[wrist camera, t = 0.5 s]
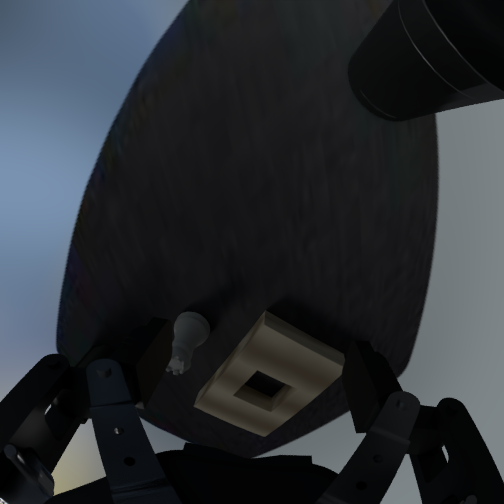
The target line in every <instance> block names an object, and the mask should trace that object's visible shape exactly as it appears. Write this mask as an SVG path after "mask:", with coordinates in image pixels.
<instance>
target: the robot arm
mask: <svg viewBox="0 0 504 504" xmlns="http://www.w3.org/2000/svg"><path fill="white" fill-rule="evenodd" d="M348 76H349V82H350V85H351V88H352V90H353V92H354V94H355V95H356V97H357V99H358V100H359V101H360V102H361V103H362V105H363V106H364V107H366V108H367V109H368V110H369V111H370V112H372V113H373V114H375V115H376V116H378V117H381V118H383V119H385V120H390V121H405V120H409V119H413V118H417V117H421V116H425V115H429V114H433V113H438V112H442V111H445V110H450V109H455V108H459V107H464V106H469V105H474V104H479V103H483V102H489V101H493V100H499V99H504V0H393V1H392V3H391V4H390V5H389V7H388V8H387V9H386V11H385V12H384V13H383V15H382V16H381V17H380V19H379V20H378V22H377V23H376V24H375V26H374V27H373V28H372V30H371V31H370V32H369V34H368V35H367V37H366V38H365V39H364V41H363V42H362V43H361V45H360V46H359V48H358V49H357V50H356V52H355V53H354V55H353V56H352V58H351V60H350V63H349V68H348ZM172 351H173V347H172V328H171V321H170V320H167V319H161V318H156V317H154V318H152V320H151V321H150V322H149V323H148V324H147V326H140V327H138V328H136V329H134V330H133V331H132V332H131V333H130V334H129V335H128V336H127V338H126V339H125V340H124V341H123V343H121V344H120V346H119V347H118V348H117V349H116V350H115V351H114V352H113V354H112V355H111V356H110V357H109V358H108V359H98V360H95V361H93V362H91V363H90V364H89V365H88V367H87V368H81V367H71V366H70V364H69V361H68V359H67V358H66V357H65V356H64V355H61V354H50V355H47V356H45V357H43V358H42V359H41V360H40V361H39V362H38V363H37V364H36V365H35V366H34V367H33V368H32V369H31V370H30V371H29V372H28V373H27V374H26V375H25V376H24V377H23V378H22V379H21V380H20V381H19V382H18V383H17V385H16V386H15V387H14V388H13V389H12V390H11V391H10V392H9V393H8V394H7V395H6V397H5V398H4V399H3V400H2V401H1V402H0V503H1V504H380V502H381V501H382V498H383V497H384V495H385V493H386V492H387V490H388V488H389V486H390V485H391V483H392V480H393V479H394V477H395V475H396V473H397V470H398V468H399V467H400V465H401V463H402V460H403V458H404V456H405V454H409V455H410V459H411V462H412V466H413V469H414V473H415V477H416V480H417V484H418V488H419V492H420V496H421V500H422V504H504V482H503V480H502V478H501V476H500V473H499V471H498V469H497V466H496V464H495V462H494V460H493V458H492V456H491V454H490V452H489V450H488V448H487V446H486V444H485V442H484V440H483V439H482V436H481V435H480V433H479V431H478V429H477V427H476V425H475V423H474V421H473V420H472V418H471V416H470V414H469V413H468V411H467V409H466V408H465V406H464V405H463V403H462V402H460V401H458V400H457V399H454V398H444V399H442V400H441V401H440V402H439V403H438V405H437V407H432V406H424V405H420V402H419V400H418V398H416V396H414V395H413V394H411V393H409V392H405V391H403V390H402V388H401V386H400V384H399V382H398V381H397V378H396V377H395V375H394V373H393V371H392V369H391V367H389V366H390V365H389V363H388V362H387V360H386V358H385V357H384V356H382V355H381V354H380V353H379V352H374V350H373V348H372V346H371V344H370V342H369V341H352V342H351V344H350V347H349V350H348V353H347V356H346V359H345V362H344V366H343V369H342V383H343V386H344V390H345V393H346V397H347V400H348V404H349V408H350V411H351V415H352V418H353V422H354V426H355V430H356V433H366V436H365V438H364V439H363V441H362V442H361V444H360V445H359V447H358V448H357V450H356V451H355V452H354V454H353V455H352V457H351V458H350V460H349V461H348V462H347V464H346V465H345V466H344V468H343V469H342V471H341V472H340V473H339V474H337V473H336V472H334V471H332V470H330V469H328V468H325V467H323V466H319V465H315V464H312V456H297V455H294V456H293V455H278V456H270V457H263V458H252V459H248V458H243V457H240V456H237V455H234V454H231V453H228V452H226V451H223V450H220V449H217V448H213V447H207V446H202V445H197V444H192V443H187V442H186V443H185V445H184V448H183V450H170V451H164V452H160V453H157V454H155V453H154V451H153V449H152V446H151V444H150V442H149V439H148V437H147V435H146V432H145V430H144V428H143V425H142V423H141V420H140V418H139V415H138V412H137V410H136V407H137V408H141V409H145V407H146V405H147V403H148V402H149V400H150V398H151V396H152V394H153V392H154V390H155V388H156V387H157V385H158V383H159V381H160V379H161V377H162V376H163V374H164V372H165V370H166V368H167V366H168V365H169V363H170V361H171V358H172ZM52 402H53V403H54V404H53V405H52V406H51V408H50V409H49V410H48V412H47V413H46V414H45V412H46V409H47V408H48V407H49V406H50V404H51V403H52ZM84 418H90V419H92V423H93V428H94V432H95V437H96V440H97V445H98V448H99V452H100V456H101V459H102V463H103V466H104V470H105V473H106V477H104V478H101V479H98V480H96V481H94V482H91V483H89V484H86V485H83V486H80V487H78V488H75V489H72V490H69V491H66V492H63V493H60V494H57V495H55V496H53V495H54V491H53V490H54V479H53V477H52V475H51V473H52V472H53V470H54V468H55V467H56V465H57V463H58V461H59V460H60V458H61V456H62V454H63V453H64V451H65V449H66V447H67V446H68V444H69V442H70V441H71V439H72V437H73V435H74V434H75V432H76V430H77V429H78V427H79V426H80V424H81V422H82V421H83V419H84ZM443 446H445V448H446V450H447V453H448V456H449V460H448V463H447V460H446V458H445V455H444V453H443V450H442V447H443Z"/></svg>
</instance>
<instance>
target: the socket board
mask: <svg viewBox="0 0 504 504" xmlns="http://www.w3.org/2000/svg"><path fill="white" fill-rule="evenodd" d="M344 362H345V358H344V354H343V353H341V352H339V351H337V350H336V349H334V348H332V347H330V346H328V345H326V344H324V343H323V342H321V341H319V340H317V339H315V338H314V337H312V336H310V335H308V334H306V333H304V332H303V331H301V330H299V329H297V328H296V327H294V326H292V325H290V324H288V323H287V322H285V321H283V320H281V319H280V318H278V317H276V316H274V315H273V314H271V313H269V312H268V311H266V310H265V312H264V313H263V314H262V316H261V317H260V318H259V319H258V321H257V322H256V323H255V324H254V326H253V327H252V328H251V330H250V331H249V332H248V333H247V335H246V336H245V337H244V338H243V340H242V341H241V342H240V343H239V345H238V346H237V347H236V348H235V349H234V351H233V352H232V353H231V354H230V356H229V357H228V358H227V359H226V360H225V362H224V363H223V364H222V365H221V367H220V368H219V369H218V370H217V371H216V373H215V374H214V375H213V376H212V377H211V379H210V380H209V381H208V382H207V383H206V384H205V386H204V387H203V388H202V389H201V390H200V391H199V393H198V396H197V399H196V402H195V405H194V406H195V407H197V408H199V409H201V410H203V411H205V412H207V413H209V414H211V415H213V416H216V417H218V418H220V419H222V420H224V421H227V422H229V423H231V424H234V425H236V426H238V427H241V428H243V429H246V430H248V431H251V432H253V433H256V434H259V435H261V436H264V437H265V436H266V435H268V434H269V433H271V432H272V431H273V430H275V429H276V428H278V427H279V426H280V425H282V424H283V423H284V422H286V421H287V420H288V419H289V418H291V417H292V416H293V415H295V414H296V413H297V412H298V411H300V410H301V409H302V408H303V407H305V406H306V405H307V404H308V403H309V402H311V401H312V400H313V399H314V398H315V397H317V396H318V395H319V394H320V393H321V392H322V391H324V390H325V389H326V388H327V387H328V386H329V385H330V384H331V383H333V382H334V381H335V380H336V379H337V378H338V377H339V376H340V375H341V374H342V369H343V366H344ZM257 370H258V371H260V372H262V373H264V374H267V375H269V376H271V377H273V378H275V379H277V380H279V381H281V382H283V383H285V384H286V385H285V386H284V387H282V388H281V389H280V390H279V391H278V392H277V393H276V394H275V395H274V396H273V397H270V396H268V395H266V394H263V393H261V392H259V391H257V390H255V389H253V388H251V387H248V386H246V385H244V383H245V382H246V381H247V380H248V379H249V378H250V377H251V376H252V375H253V374H254V373H255V372H256V371H257Z"/></svg>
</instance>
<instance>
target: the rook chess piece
mask: <svg viewBox="0 0 504 504" xmlns="http://www.w3.org/2000/svg"><path fill="white" fill-rule="evenodd" d="M174 333H175V338H174V341H173V342H172V347H173V351H172V358H171V361H170V363H169V365H168V366H167V368H166V371H168V372H169V371H170V370H172V371H174V372H173V374H175V375H178V373H179V372H180V373H181V374H182V373H184V371H186V370H188V369H189V368H190V366H191V361H190V359H191V358H192V356H193V353H192V352H193V350H194V349H195V348H196V347H197V346H199V345H201V344H202V343H204V342H205V341H206V339H207V337H208V336H209V333H210V325H209V323H208V322H207V320H206V319H205V318H204V317H203V316H202V315H200V314H198V313H195V312H184V313H181V314H180V315H179V316H178V317H177V320H176V321H175V325H174Z"/></svg>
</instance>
